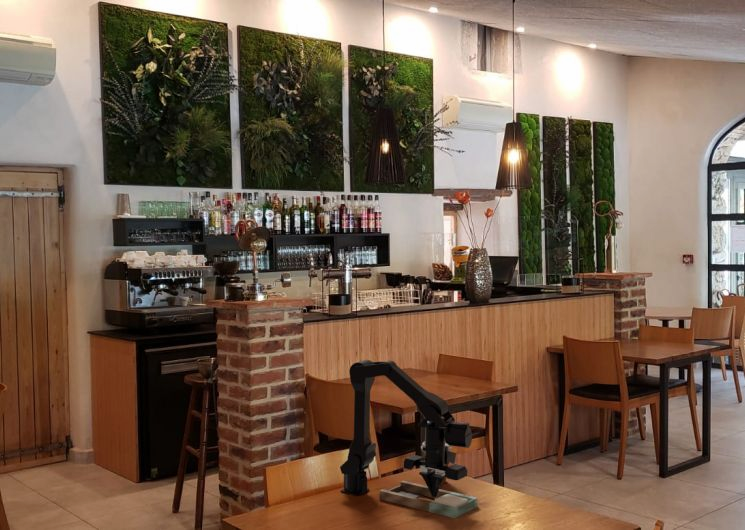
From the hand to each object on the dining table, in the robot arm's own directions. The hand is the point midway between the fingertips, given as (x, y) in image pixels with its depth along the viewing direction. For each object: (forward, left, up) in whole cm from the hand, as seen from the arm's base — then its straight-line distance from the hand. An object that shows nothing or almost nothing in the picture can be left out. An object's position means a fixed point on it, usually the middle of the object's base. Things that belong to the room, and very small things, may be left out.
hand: (434, 496), depth 234 cm
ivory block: (+6, -1, -3) cm, 7 cm away
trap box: (-2, 0, -2) cm, 3 cm away
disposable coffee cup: (-11, +18, -2) cm, 21 cm away
